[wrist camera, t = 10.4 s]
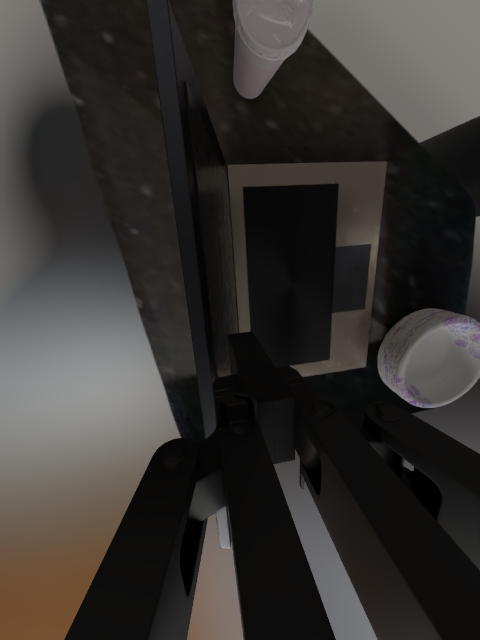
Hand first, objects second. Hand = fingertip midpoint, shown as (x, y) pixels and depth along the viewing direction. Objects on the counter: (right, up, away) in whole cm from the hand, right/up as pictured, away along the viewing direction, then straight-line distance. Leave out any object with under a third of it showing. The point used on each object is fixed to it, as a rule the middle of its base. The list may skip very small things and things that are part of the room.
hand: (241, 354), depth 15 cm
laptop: (+9, +8, +22) cm, 25 cm away
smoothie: (+1, +30, +14) cm, 33 cm away
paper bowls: (+29, -2, +29) cm, 41 cm away
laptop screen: (-1, +3, +9) cm, 9 cm away
